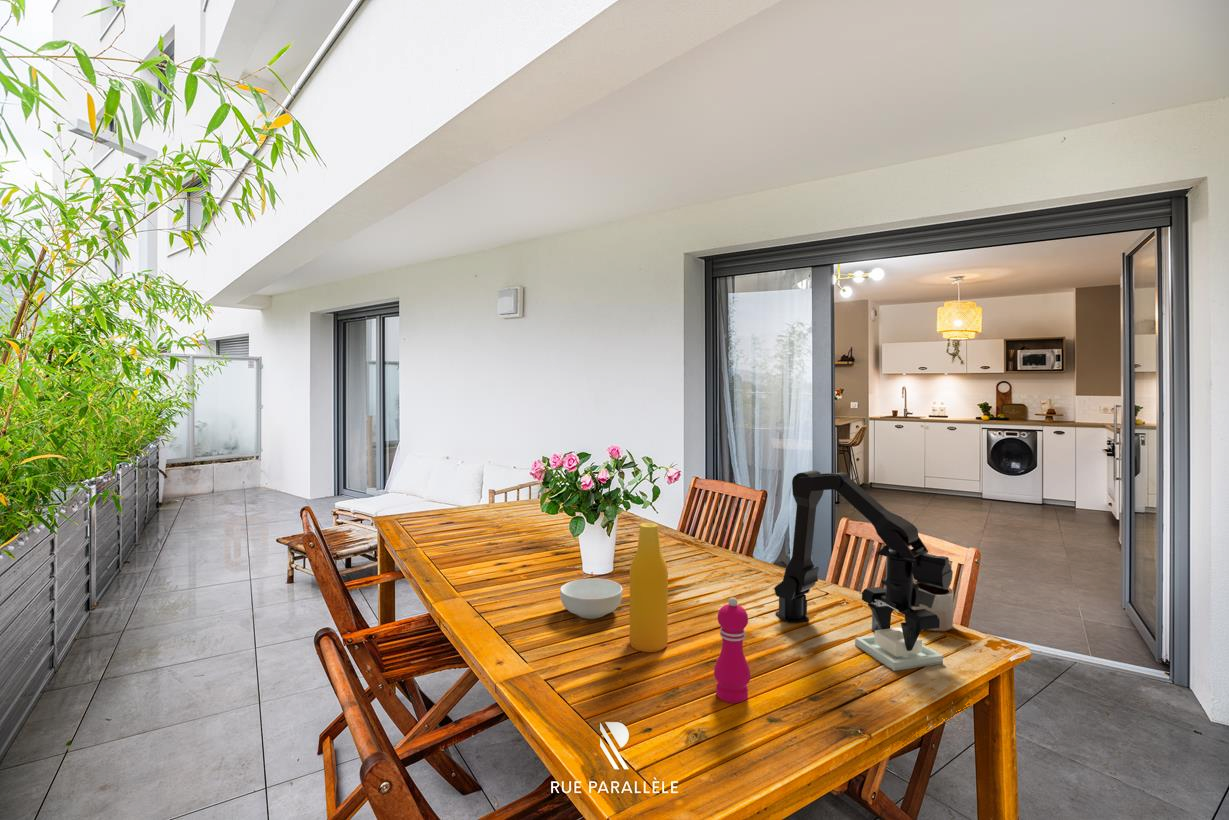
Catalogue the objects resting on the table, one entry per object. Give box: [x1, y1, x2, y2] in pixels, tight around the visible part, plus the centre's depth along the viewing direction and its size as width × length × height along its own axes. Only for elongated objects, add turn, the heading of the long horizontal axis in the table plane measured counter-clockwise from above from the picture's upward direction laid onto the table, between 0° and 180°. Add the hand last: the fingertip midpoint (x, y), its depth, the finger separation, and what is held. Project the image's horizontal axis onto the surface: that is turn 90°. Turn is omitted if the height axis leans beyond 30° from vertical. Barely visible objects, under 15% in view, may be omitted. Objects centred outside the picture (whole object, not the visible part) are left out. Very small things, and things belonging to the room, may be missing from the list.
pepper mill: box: [713, 596, 751, 704], centre depth 119 cm, size 7×7×20 cm
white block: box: [874, 627, 923, 657], centre depth 137 cm, size 7×7×3 cm
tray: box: [854, 634, 944, 672], centre depth 137 cm, size 13×13×2 cm
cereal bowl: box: [559, 577, 624, 620], centre depth 161 cm, size 17×17×7 cm
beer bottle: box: [628, 522, 669, 653], centre depth 141 cm, size 9×9×29 cm
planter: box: [911, 580, 954, 633], centre depth 153 cm, size 11×11×10 cm
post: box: [871, 611, 881, 633], centre depth 149 cm, size 2×2×4 cm
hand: (897, 643), depth 137 cm, fingers closed on white block, 7 cm apart
